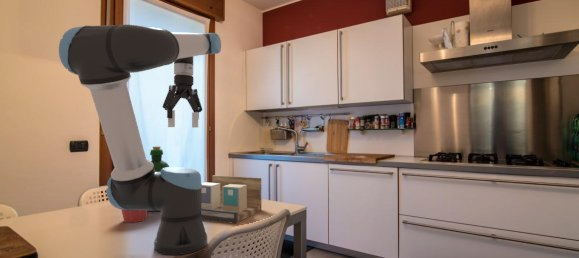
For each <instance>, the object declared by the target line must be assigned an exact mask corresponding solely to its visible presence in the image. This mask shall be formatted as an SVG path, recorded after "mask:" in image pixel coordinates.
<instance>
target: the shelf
mask: <svg viewBox="0 0 579 258" xmlns="http://www.w3.org/2000/svg"><path fill="white" fill-rule="evenodd" d="M211 183H220V207H217V208H215V209H205V208H201V218H202V220H206V221H213V220H214V222H221V223H222V222H223V223H229V222H232V224H238V223H240V222H242V221H244V220H245V219H247V218H249V217H251V216H253V215H255V214H257V213H258V212H260V211H262V178H261V177H252V176H251V177H247V176H233V175H232V176H231V175H214V174H213V175H212V182H211ZM229 184H238V185H247V209H246V210H243V211H241V212H232V211H223V210H222V186H225V185H229ZM254 213H255V214H254ZM252 214H253V215H252ZM243 219H244V220H243ZM241 220H242V221H241ZM239 221H240V222H239ZM237 222H238V223H237Z"/></svg>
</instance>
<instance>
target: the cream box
mask: <svg viewBox="0 0 579 258" xmlns="http://www.w3.org/2000/svg"><path fill="white" fill-rule="evenodd" d="M201 184H202V191H201V208H205V209H215V208H217V207H220V183H212V182H205V181H204V182H201Z"/></svg>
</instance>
